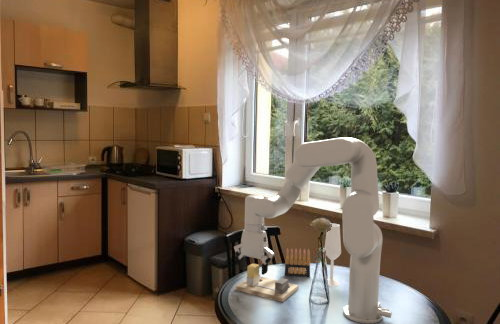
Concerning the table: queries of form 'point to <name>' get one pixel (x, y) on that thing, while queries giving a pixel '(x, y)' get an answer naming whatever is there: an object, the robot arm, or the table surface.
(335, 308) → the table surface
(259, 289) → the board
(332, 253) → the champagne flute
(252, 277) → the sliding leg
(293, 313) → the table surface
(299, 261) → the ammunition clip
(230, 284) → the table surface
